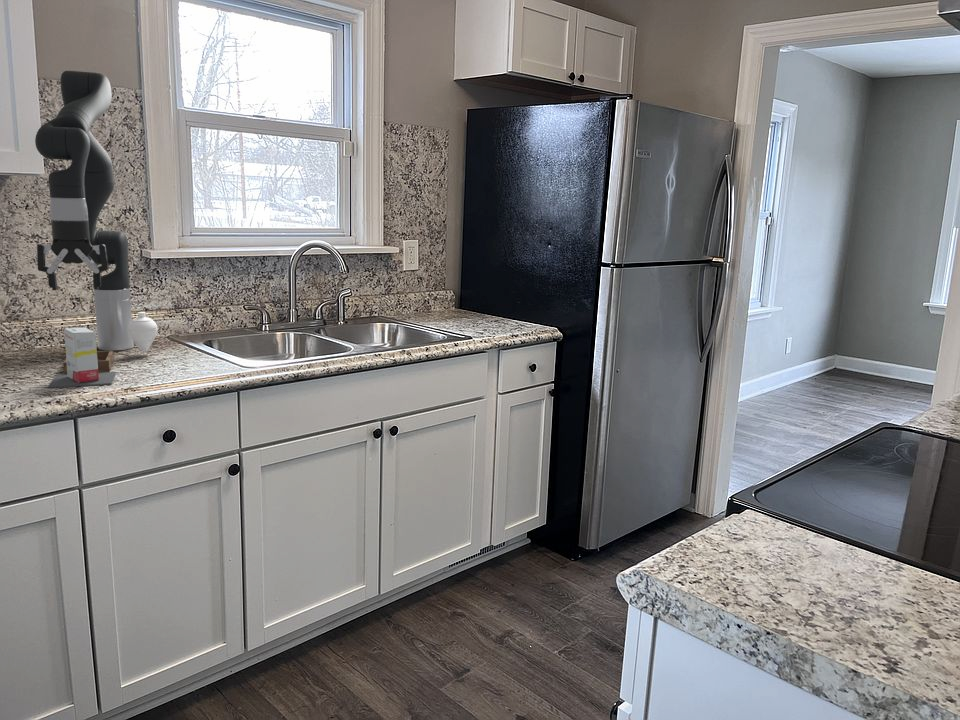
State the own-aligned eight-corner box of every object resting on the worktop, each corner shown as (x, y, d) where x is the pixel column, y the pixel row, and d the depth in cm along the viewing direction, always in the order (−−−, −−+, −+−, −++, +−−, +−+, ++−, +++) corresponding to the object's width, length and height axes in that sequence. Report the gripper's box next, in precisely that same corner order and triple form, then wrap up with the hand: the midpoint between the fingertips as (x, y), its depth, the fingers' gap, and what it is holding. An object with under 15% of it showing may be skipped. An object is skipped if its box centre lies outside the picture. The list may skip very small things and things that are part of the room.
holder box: (71, 363, 196) (70, 352, 195) (114, 361, 199) (113, 350, 199) (64, 374, 184) (63, 362, 183) (109, 372, 187) (108, 360, 187)
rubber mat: (56, 376, 182) (56, 374, 182) (115, 373, 187) (115, 371, 186) (48, 388, 171) (47, 386, 171) (111, 384, 176) (111, 383, 176)
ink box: (100, 380, 178) (96, 331, 175) (77, 383, 174) (73, 333, 172) (89, 373, 184) (85, 326, 181) (67, 376, 180) (62, 327, 178)
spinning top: (142, 351, 213) (139, 309, 211) (165, 353, 211) (162, 311, 209) (122, 356, 206) (119, 313, 203) (146, 358, 204) (143, 314, 201)
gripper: (106, 218, 177) (111, 287, 180) (36, 217, 172) (43, 288, 175) (102, 219, 170) (108, 291, 173) (30, 218, 165) (37, 292, 168)
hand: (75, 289), depth 174 cm, fingers open, 8 cm apart
